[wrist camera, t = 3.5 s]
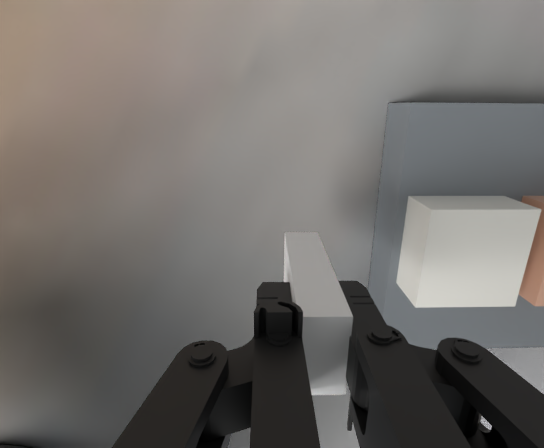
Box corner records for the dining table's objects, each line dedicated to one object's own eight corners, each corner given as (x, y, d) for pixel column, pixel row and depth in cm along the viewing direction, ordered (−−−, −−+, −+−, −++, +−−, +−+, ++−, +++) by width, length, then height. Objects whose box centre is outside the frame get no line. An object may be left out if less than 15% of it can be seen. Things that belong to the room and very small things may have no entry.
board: (364, 320, 23) (378, 349, 21) (388, 103, 19) (410, 102, 16) (577, 317, 24) (620, 346, 21) (650, 105, 19) (717, 105, 17)
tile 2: (396, 282, 19) (415, 307, 17) (408, 195, 18) (431, 209, 15) (484, 282, 19) (515, 306, 17) (503, 195, 18) (541, 209, 15)
